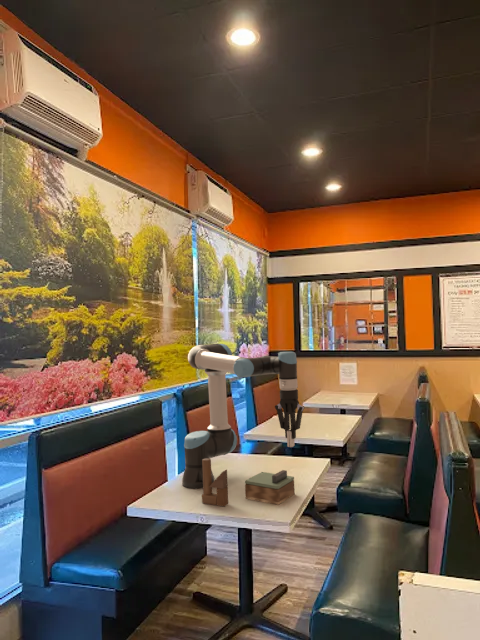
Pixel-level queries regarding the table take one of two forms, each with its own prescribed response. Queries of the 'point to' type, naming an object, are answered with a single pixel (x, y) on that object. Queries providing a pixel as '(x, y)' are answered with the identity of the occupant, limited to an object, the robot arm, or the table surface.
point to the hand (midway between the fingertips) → (291, 446)
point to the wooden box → (269, 493)
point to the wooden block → (214, 486)
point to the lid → (270, 479)
